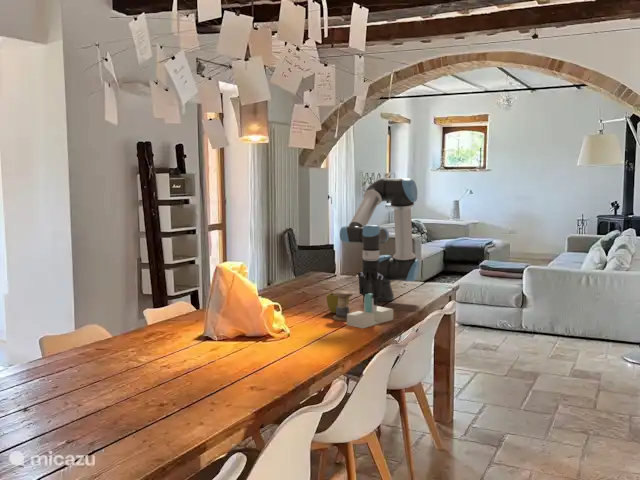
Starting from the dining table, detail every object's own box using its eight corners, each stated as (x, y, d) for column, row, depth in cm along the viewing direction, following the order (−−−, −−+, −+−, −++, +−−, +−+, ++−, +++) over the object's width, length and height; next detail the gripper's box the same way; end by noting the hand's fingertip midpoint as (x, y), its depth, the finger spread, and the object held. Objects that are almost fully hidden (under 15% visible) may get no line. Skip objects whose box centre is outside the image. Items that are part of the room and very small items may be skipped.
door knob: (341, 315, 295) (341, 290, 294) (356, 318, 289) (356, 292, 288) (328, 318, 289) (328, 293, 287) (343, 321, 283) (343, 295, 281)
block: (369, 310, 283) (369, 293, 283) (375, 311, 281) (376, 294, 280) (364, 311, 281) (365, 294, 280) (371, 312, 279) (371, 295, 278)
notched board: (377, 316, 293) (377, 306, 292) (393, 319, 287) (393, 308, 286) (346, 325, 277) (346, 314, 276) (362, 328, 271) (362, 317, 270)
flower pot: (325, 313, 300) (325, 294, 299) (333, 309, 308) (333, 291, 307) (342, 315, 296) (342, 296, 295) (350, 311, 303) (350, 293, 302)
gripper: (351, 258, 281) (350, 309, 284) (380, 262, 270) (379, 315, 273) (361, 257, 287) (361, 307, 289) (390, 260, 276) (390, 312, 278)
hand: (370, 311), depth 281 cm, fingers closed on block, 3 cm apart
